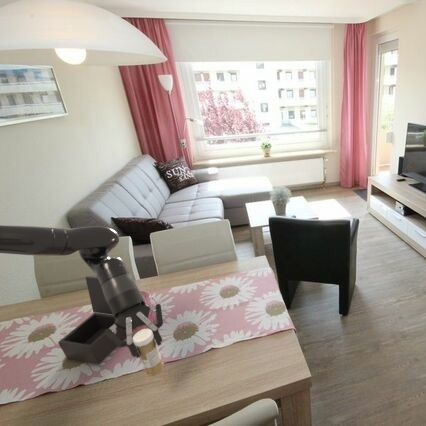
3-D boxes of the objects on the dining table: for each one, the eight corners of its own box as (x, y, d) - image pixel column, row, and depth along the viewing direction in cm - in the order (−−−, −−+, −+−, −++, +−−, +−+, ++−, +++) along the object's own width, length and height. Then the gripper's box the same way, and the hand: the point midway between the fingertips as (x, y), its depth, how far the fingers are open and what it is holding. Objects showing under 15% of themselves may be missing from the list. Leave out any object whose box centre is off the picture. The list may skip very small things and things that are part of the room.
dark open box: (98, 364, 99) (89, 347, 95) (67, 358, 101) (57, 342, 98) (130, 332, 111) (123, 316, 108) (101, 328, 114) (94, 312, 110)
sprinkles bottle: (143, 370, 82) (129, 335, 77) (159, 359, 85) (147, 325, 80) (150, 380, 79) (136, 344, 74) (167, 368, 83) (154, 333, 77)
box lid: (115, 280, 104) (117, 279, 104) (85, 277, 106) (87, 276, 107) (122, 316, 107) (124, 314, 108) (93, 312, 110) (95, 310, 111)
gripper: (90, 305, 73) (118, 367, 70) (151, 278, 82) (178, 333, 79) (92, 311, 78) (119, 369, 76) (149, 285, 88) (175, 337, 85)
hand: (149, 350), depth 78 cm, fingers closed on sprinkles bottle, 4 cm apart
